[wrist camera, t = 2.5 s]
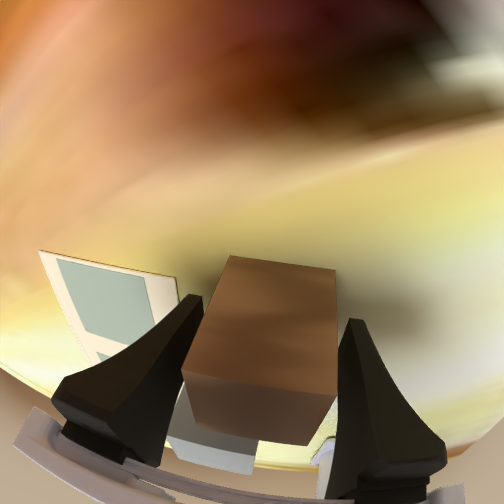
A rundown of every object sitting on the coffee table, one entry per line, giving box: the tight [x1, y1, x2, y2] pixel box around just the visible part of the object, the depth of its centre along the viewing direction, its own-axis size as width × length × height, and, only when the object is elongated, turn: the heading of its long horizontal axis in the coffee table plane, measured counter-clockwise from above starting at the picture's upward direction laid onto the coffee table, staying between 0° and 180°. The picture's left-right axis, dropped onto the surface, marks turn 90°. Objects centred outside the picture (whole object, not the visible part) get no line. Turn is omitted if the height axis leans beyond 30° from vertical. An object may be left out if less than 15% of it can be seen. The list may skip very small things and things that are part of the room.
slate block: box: [166, 383, 259, 475], centre depth 16 cm, size 4×4×6 cm
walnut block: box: [181, 255, 338, 446], centre depth 12 cm, size 4×4×6 cm
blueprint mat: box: [38, 250, 184, 406], centre depth 19 cm, size 10×16×1 cm, turn 177°
